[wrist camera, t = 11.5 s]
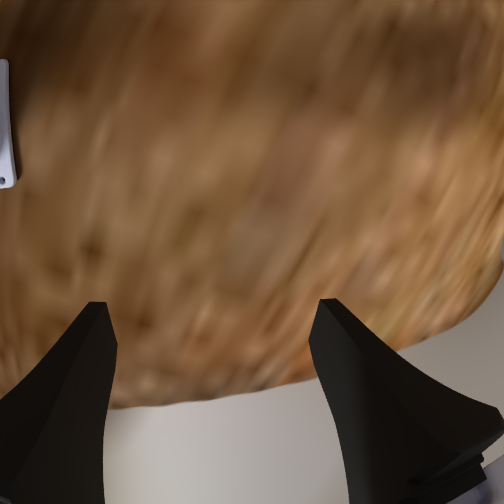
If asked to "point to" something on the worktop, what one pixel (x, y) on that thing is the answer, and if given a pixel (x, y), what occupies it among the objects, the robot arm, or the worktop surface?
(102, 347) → the robot arm
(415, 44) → the worktop surface
